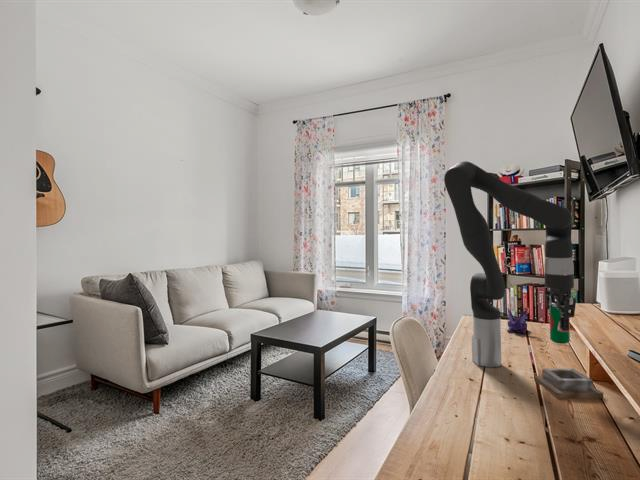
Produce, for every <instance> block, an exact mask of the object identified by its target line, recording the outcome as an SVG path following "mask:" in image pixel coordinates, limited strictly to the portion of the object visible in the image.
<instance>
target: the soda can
mask: <svg viewBox="0 0 640 480" xmlns="http://www.w3.org/2000/svg"><path fill="white" fill-rule="evenodd" d="M549 306H550V312H549V335H550V336H549V339H550V341H551V342H553V343H555V344H562V345H565V344H568V343H570V342H571V331H570V330H571V329H570V328H571V327H570V320H571V318H569V330H561V329H560V318H561V317H560V313H559V310H557V307H556V303H555V302H551V304H550V305H549ZM561 307H564V306H561ZM563 312H564V310H563Z"/></svg>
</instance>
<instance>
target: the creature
mask: <svg viewBox="0 0 640 480" xmlns="http://www.w3.org/2000/svg"><path fill="white" fill-rule="evenodd" d="M527 312H528V308H525V310H523V312H522V313H521V314H520V315H519V316H517V315H516V317H515V316H514V315H513V313H512V311H511V309H509V307H508V306H507V313H508V319H509V320H507V327H508V329H507V330H506V331H507V332H508V333H512V332H513V331H514V332H517V333H518V332H519V333H520V334H523V335H524V334H527V328H528V322H526V318H527Z"/></svg>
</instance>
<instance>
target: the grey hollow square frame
mask: <svg viewBox="0 0 640 480" xmlns="http://www.w3.org/2000/svg"><path fill="white" fill-rule="evenodd" d="M541 372H542V373H541V374H542V375H533V381H534V382H536V383H537V384H538V385H539V386H541V385H542V386H543V387H544V388H545V391H547V390H548V391H549V392H550V393H549V392H548V391H547V392H548V393H549V394H550V395H551V396H553V397H554V398H556V399H604V393H603V391H601V390H599V389H597V388H596V387H594V381H593V379H591V378H590V377H588V376H586V375H584V374H583V373H581V371H578V370H576V369H574V368H542V371H541ZM542 386H541V387H542ZM543 387H542V388H543ZM544 388H543V389H544Z"/></svg>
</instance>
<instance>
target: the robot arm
mask: <svg viewBox="0 0 640 480" xmlns="http://www.w3.org/2000/svg"><path fill="white" fill-rule="evenodd" d="M443 181H444V186H445V189H446V191H447V194H448V197H449V199H450V201H451V203H452V207H453V210H454V213H455V217H456V220H457V224H458V227H459V228H458V229H459V232H460V236H461V239H462V243H463V246H464V247H465V249H466V251H467V252H468V253H469V254H470V255H471V256H472V257H473V258H474V260H476V261H477V262H478V264H479V265H480V266H481V269H483V272H484V273H482V272H481V273H480V272H477V273H474V274H473V275H472V277H471V280H470V283H469V284H470V287H469V288H470V289H469V291H470V302H471V303H470V304H471V305H470V306H471V310H472V316H473V317H472V318H473V319H472V321H473V322H472V323H473V335H471V354H472V355H471V359H472V360H471V361H473V363H474V364H475V365H476V366H477V367H485V368H486V367H487V368H497V367H500V366H502V337H501V335H502V334H501V333H502V330H501V329H502V327H501V326H502V325H501V311H500V309H498V308H497V307H495V306H493V305H492V304H491V303H490V302H489V301H488V300H494V301H498V300H502V299H503V298H504V296H505V294H506V283H505V279H504V276H503V273H502V270H501V267H500V265H499V263H498V260H497V256H496V253H495V249H494V245H493V241H492V237H491V232H490V229H489V225H488V222H487V220H486V219H485V217H484V216H483V214H482V213H481V212H480V210H479V209H478V207H477V205H476V204H475V201H474V198H473V194H472V193H473V192H472V188H474V189H476V190H480V191H483V192H485V193H486V194H488V195H489V196H491V197H492V198H493V199H494V200H495V201H496V202H497V203H499V204H500V205H501V206H502V207H504V208H506V209H508V210H510V211H512V212H514V213H516V214H518V215H521V216H524V217H527V218H530V219H532V220H533V221H536V222H538V223H540V224H542V225H543V226H544V227H545V242H544V243H545V244H544V264H543V265H544V287H545V288H547V289H548V290H544V292H543V293H544V300H545V307H546V310H548V311H549V313H550V304H551V302H555V303H556V307H557V310H559V313H560V317H561V318H560V329H561V330H569V318H570V319H571V318H575V312H576V304H577V298H576V297H571V294H570V290H572V289H573V288H574V287H575V273H574V271H575V268H574V266H575V265H574V260H573V242H572V221H573V220H572V219H573V215H572V213H571V211H570V210H569V209H568V208H567V207H565V206H563V205H560V204H557V203H554V202H552V201H548V200H545V199H543V198H540V197H539V196H537V195H535V194H533V193H531V192H528V191H525V190H523V189H520V188H518V187H516V186H514V185H512V184H510V183H508V182H505V181H503V180H501V179H500V178H498V177H496V176H495V175H493V174H491V173H489V172H487V171H486V170H484V169H483V168H481V167H480V166H478V165H476V164H474V163H473V162H470V161H467V160H465V161H460V162H457V163H456V164H455V165H453V166H451V167H450V168H448V170H446V172H445V174H444V176H443ZM561 306H564V307H561ZM563 310H564V312H563Z"/></svg>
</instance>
